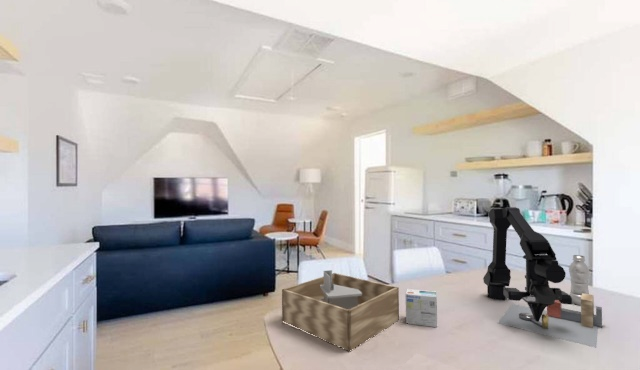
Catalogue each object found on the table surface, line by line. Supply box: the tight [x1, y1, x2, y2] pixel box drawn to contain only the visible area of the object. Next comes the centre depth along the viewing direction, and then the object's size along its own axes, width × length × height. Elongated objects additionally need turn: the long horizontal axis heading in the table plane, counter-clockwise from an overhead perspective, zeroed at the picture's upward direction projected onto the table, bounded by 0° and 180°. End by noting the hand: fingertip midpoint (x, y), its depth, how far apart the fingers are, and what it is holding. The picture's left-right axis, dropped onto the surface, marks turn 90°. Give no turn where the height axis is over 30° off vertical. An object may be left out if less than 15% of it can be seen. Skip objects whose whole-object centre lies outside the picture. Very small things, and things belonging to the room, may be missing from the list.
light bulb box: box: [405, 288, 438, 328], centre depth 113 cm, size 11×7×11 cm, turn 71°
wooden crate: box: [281, 272, 400, 352], centre depth 114 cm, size 31×30×12 cm
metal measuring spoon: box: [519, 313, 549, 329], centre depth 110 cm, size 5×11×4 cm, turn 6°
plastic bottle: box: [568, 254, 590, 307], centre depth 127 cm, size 6×7×20 cm
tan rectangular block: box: [580, 293, 595, 328], centre depth 109 cm, size 3×8×9 cm, turn 137°
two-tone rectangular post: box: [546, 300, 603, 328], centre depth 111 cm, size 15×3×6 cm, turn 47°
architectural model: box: [320, 270, 362, 310], centre depth 114 cm, size 23×24×18 cm
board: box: [497, 303, 599, 349], centre depth 110 cm, size 26×24×1 cm
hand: (536, 321), depth 106 cm, fingers closed
